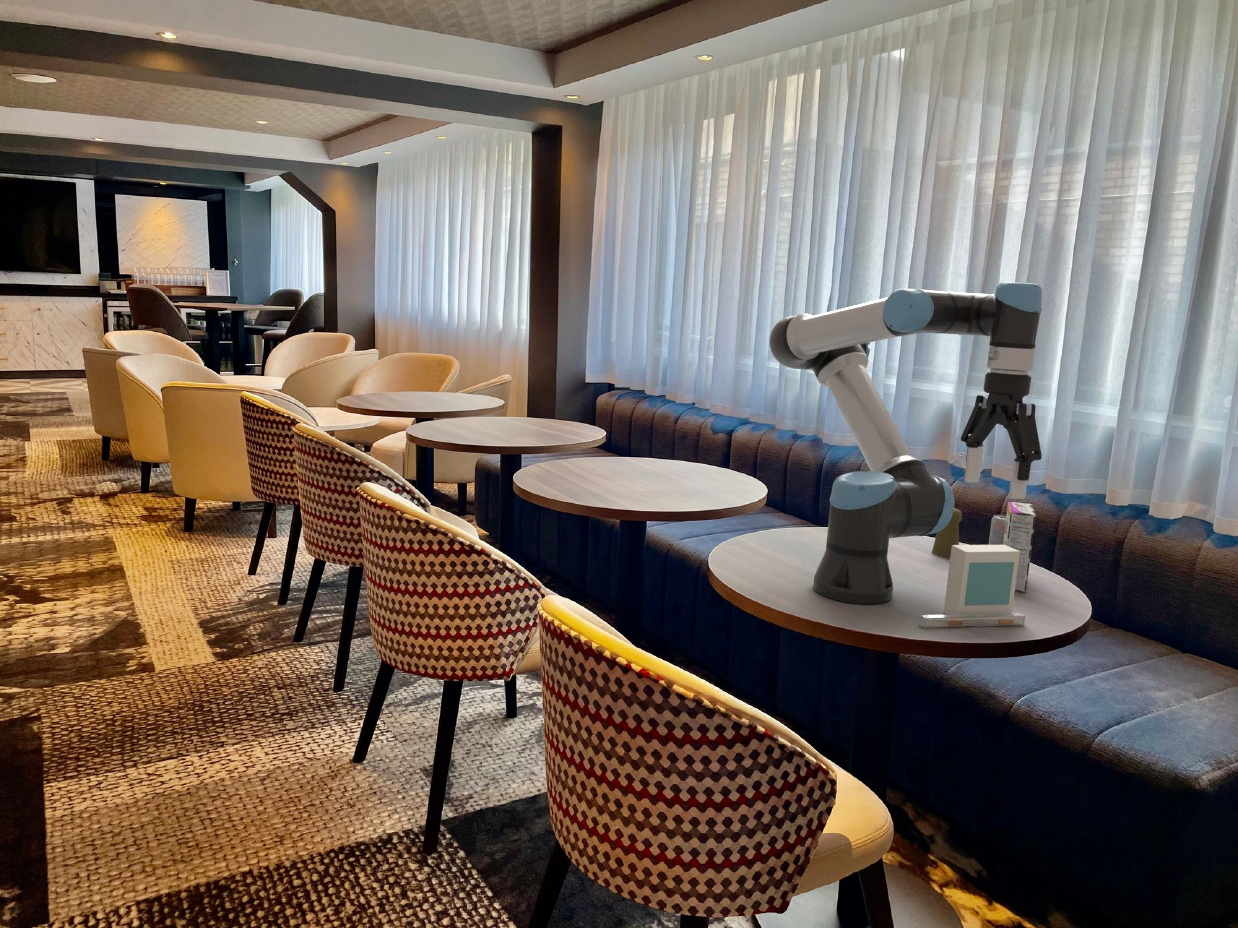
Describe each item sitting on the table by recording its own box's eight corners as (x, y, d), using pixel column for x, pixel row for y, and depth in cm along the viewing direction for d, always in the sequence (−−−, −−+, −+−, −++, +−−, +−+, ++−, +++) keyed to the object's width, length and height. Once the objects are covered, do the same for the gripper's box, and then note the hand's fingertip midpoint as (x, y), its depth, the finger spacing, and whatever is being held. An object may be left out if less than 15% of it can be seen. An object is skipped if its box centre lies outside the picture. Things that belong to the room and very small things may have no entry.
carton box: (943, 612, 168) (951, 545, 166) (995, 611, 171) (1004, 544, 168) (957, 621, 164) (966, 552, 161) (1011, 619, 166) (1020, 551, 164)
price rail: (924, 628, 159) (925, 618, 158) (919, 624, 161) (920, 614, 160) (1025, 626, 163) (1026, 616, 162) (1018, 622, 165) (1020, 613, 164)
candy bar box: (997, 574, 195) (1007, 500, 192) (1022, 578, 193) (1033, 503, 190) (999, 589, 185) (1010, 511, 182) (1026, 593, 183) (1037, 514, 180)
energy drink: (1007, 568, 201) (1014, 515, 198) (1015, 575, 195) (1022, 521, 193) (982, 566, 201) (989, 513, 199) (989, 573, 196) (996, 519, 194)
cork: (929, 549, 213) (934, 504, 211) (955, 552, 212) (961, 506, 210) (934, 556, 207) (940, 509, 205) (961, 558, 206) (967, 512, 204)
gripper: (950, 365, 170) (937, 475, 174) (1035, 377, 146) (1017, 505, 150) (985, 367, 172) (972, 476, 176) (1075, 379, 148) (1057, 505, 152)
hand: (993, 489), depth 163 cm, fingers open, 13 cm apart
